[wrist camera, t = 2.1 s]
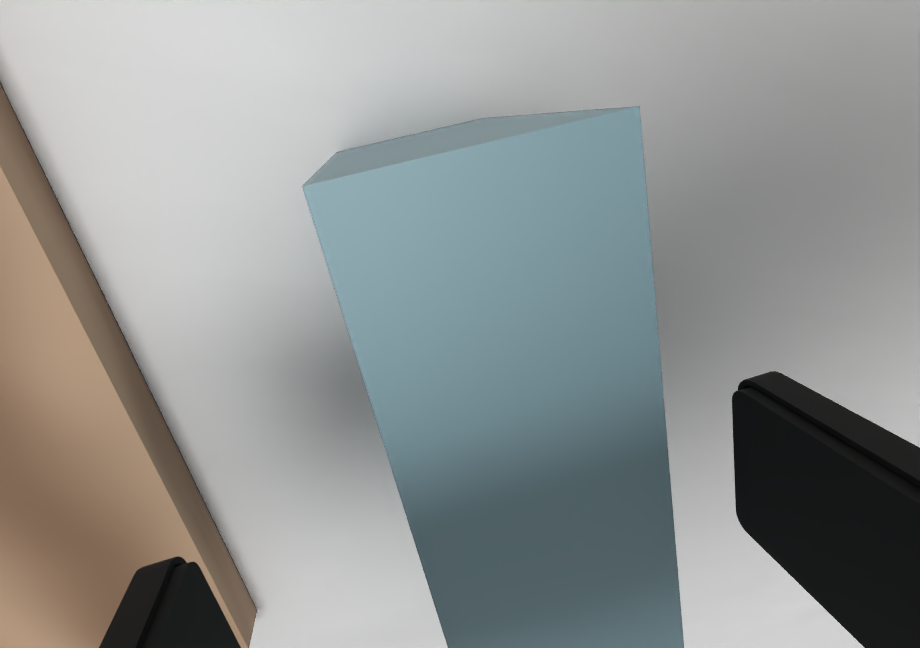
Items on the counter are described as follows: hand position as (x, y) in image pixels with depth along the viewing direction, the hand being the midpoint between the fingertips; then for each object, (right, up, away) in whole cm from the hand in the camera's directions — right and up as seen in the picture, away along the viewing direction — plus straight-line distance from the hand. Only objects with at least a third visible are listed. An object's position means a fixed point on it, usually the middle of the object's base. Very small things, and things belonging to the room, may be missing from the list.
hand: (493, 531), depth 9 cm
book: (-1, +3, +8) cm, 8 cm away
